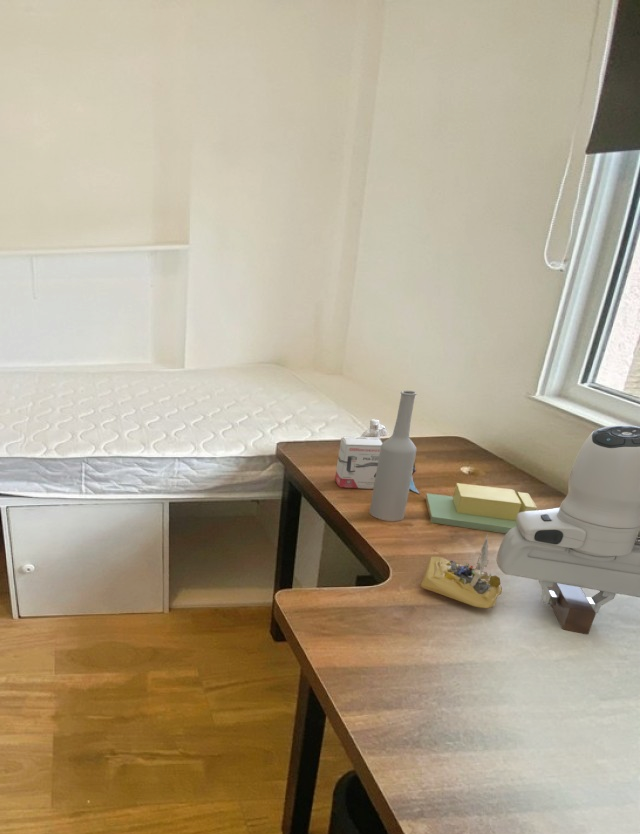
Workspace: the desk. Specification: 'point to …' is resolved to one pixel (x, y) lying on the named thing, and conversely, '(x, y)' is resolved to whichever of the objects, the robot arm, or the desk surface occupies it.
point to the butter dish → (462, 516)
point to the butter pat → (526, 502)
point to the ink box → (358, 462)
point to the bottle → (395, 466)
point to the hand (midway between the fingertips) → (568, 606)
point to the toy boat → (463, 580)
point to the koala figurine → (375, 430)
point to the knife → (412, 486)
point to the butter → (486, 501)
